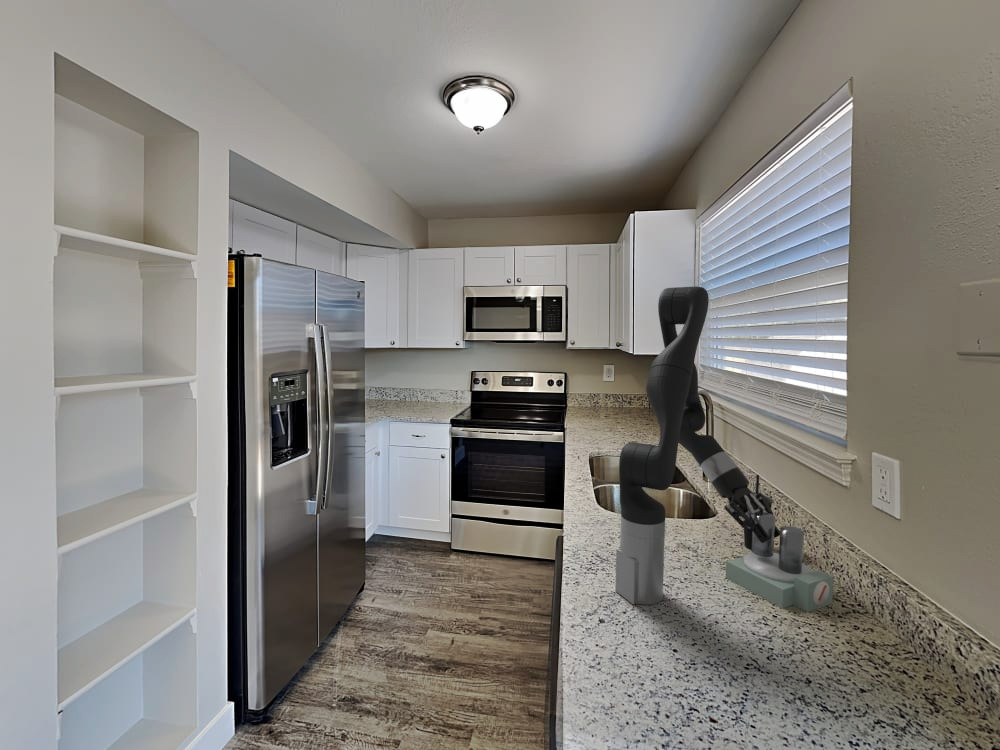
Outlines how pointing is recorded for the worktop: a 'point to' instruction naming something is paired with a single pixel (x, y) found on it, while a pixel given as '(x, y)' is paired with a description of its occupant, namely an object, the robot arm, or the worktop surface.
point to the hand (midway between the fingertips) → (771, 538)
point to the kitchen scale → (781, 582)
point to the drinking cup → (747, 531)
